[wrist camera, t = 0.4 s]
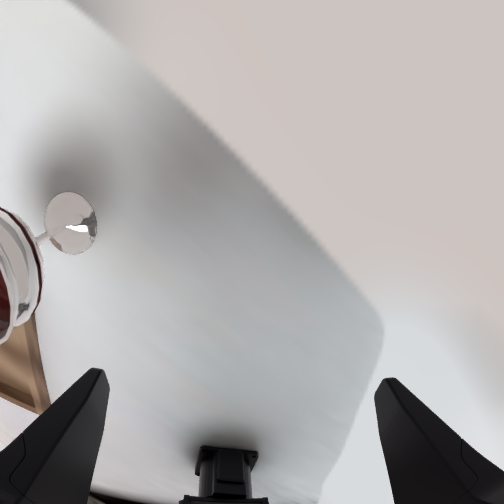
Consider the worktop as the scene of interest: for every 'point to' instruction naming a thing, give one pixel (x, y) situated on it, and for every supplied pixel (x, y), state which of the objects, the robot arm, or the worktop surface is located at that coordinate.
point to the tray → (23, 369)
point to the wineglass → (37, 254)
